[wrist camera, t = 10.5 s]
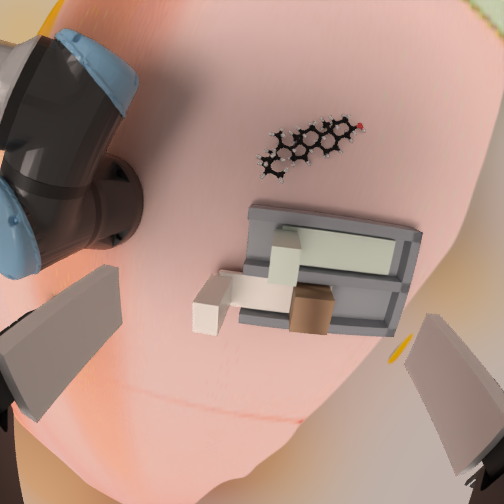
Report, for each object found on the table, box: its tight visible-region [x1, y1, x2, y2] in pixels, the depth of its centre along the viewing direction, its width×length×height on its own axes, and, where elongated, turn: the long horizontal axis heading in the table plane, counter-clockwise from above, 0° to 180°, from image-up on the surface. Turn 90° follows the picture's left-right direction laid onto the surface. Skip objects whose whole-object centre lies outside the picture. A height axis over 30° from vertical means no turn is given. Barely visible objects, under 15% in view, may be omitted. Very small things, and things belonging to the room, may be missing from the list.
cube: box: [289, 282, 335, 335], centre depth 36 cm, size 5×5×5 cm
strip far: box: [193, 269, 333, 336], centre depth 35 cm, size 17×5×10 cm, turn 85°
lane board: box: [238, 205, 423, 337], centre depth 38 cm, size 24×16×4 cm
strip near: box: [268, 224, 396, 287], centre depth 33 cm, size 17×5×10 cm, turn 85°
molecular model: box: [256, 114, 366, 184], centre depth 31 cm, size 6×15×8 cm, turn 119°
